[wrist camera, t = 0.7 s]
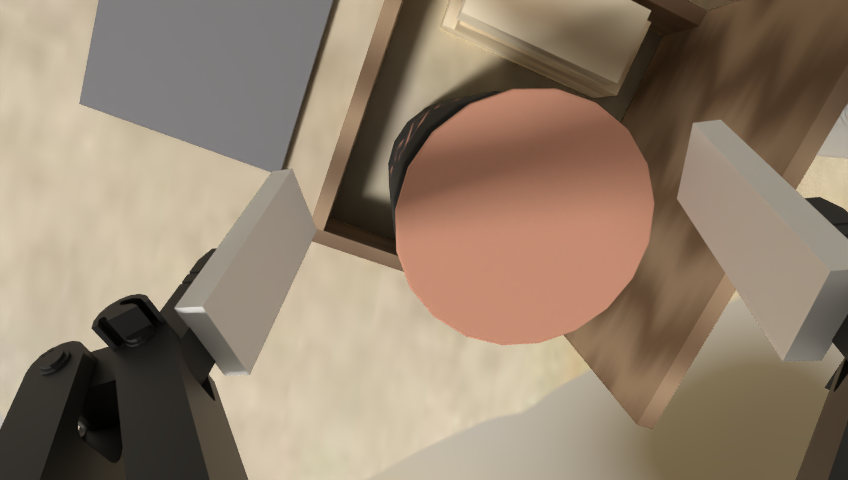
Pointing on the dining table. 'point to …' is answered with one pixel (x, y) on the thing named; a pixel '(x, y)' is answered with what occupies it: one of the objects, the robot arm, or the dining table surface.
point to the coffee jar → (518, 212)
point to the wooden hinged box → (670, 168)
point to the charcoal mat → (208, 70)
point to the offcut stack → (557, 37)
